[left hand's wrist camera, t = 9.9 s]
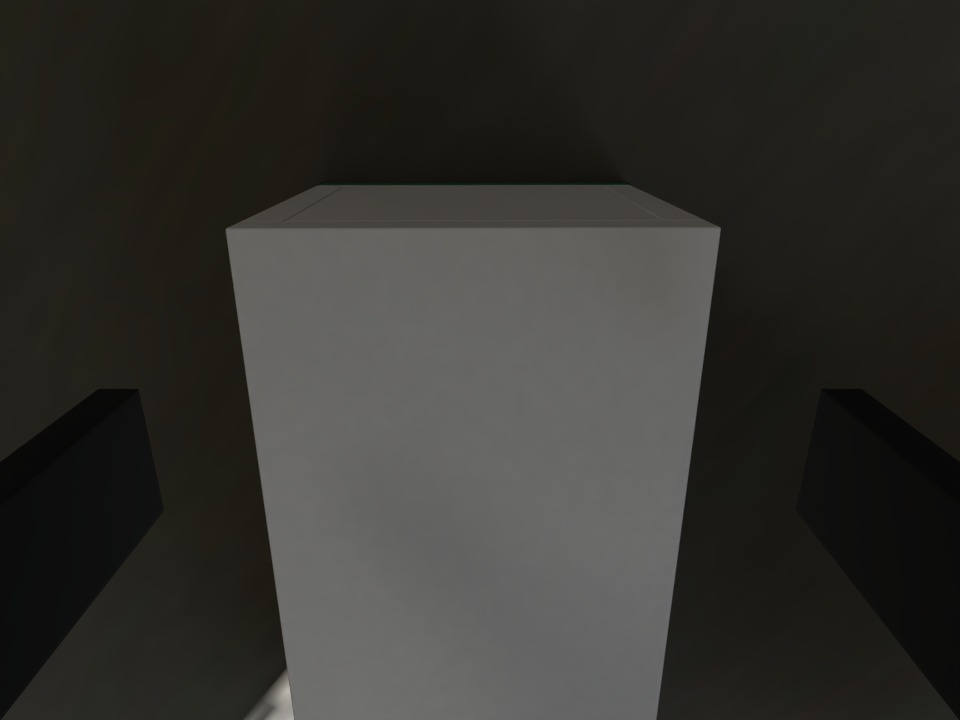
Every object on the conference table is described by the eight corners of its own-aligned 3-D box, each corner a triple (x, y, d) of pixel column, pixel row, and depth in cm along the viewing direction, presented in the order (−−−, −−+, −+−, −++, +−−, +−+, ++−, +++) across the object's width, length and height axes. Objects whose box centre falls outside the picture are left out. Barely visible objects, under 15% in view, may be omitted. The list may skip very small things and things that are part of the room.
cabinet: (594, 590, 31) (646, 798, 21) (356, 591, 31) (304, 801, 21) (625, 182, 24) (722, 227, 15) (321, 182, 24) (224, 227, 15)
